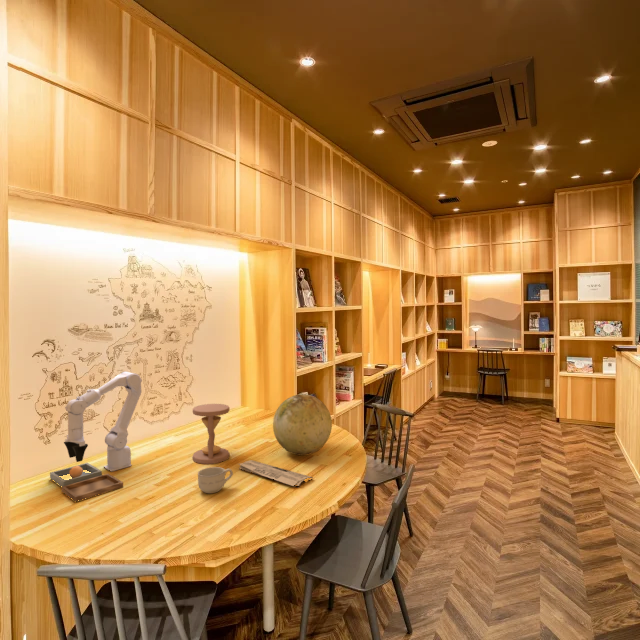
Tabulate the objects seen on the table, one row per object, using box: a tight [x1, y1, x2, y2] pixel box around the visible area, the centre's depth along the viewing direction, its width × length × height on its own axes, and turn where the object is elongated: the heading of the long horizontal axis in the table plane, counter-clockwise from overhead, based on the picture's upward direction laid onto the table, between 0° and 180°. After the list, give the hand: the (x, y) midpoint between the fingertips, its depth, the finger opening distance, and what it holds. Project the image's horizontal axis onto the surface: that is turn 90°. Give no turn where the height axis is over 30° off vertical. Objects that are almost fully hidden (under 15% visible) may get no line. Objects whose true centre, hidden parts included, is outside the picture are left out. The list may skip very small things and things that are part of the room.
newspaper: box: [238, 459, 314, 487], centre depth 184 cm, size 35×12×4 cm, turn 56°
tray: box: [61, 473, 124, 502], centre depth 169 cm, size 18×14×2 cm
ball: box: [69, 465, 83, 478], centre depth 179 cm, size 5×5×5 cm
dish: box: [49, 462, 103, 487], centre depth 179 cm, size 15×15×3 cm
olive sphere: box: [272, 393, 333, 456], centre depth 212 cm, size 30×30×30 cm
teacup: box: [197, 466, 234, 494], centre depth 169 cm, size 14×11×8 cm
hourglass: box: [192, 403, 230, 465], centre depth 205 cm, size 18×18×25 cm
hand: (75, 459), depth 179 cm, fingers open, 7 cm apart
